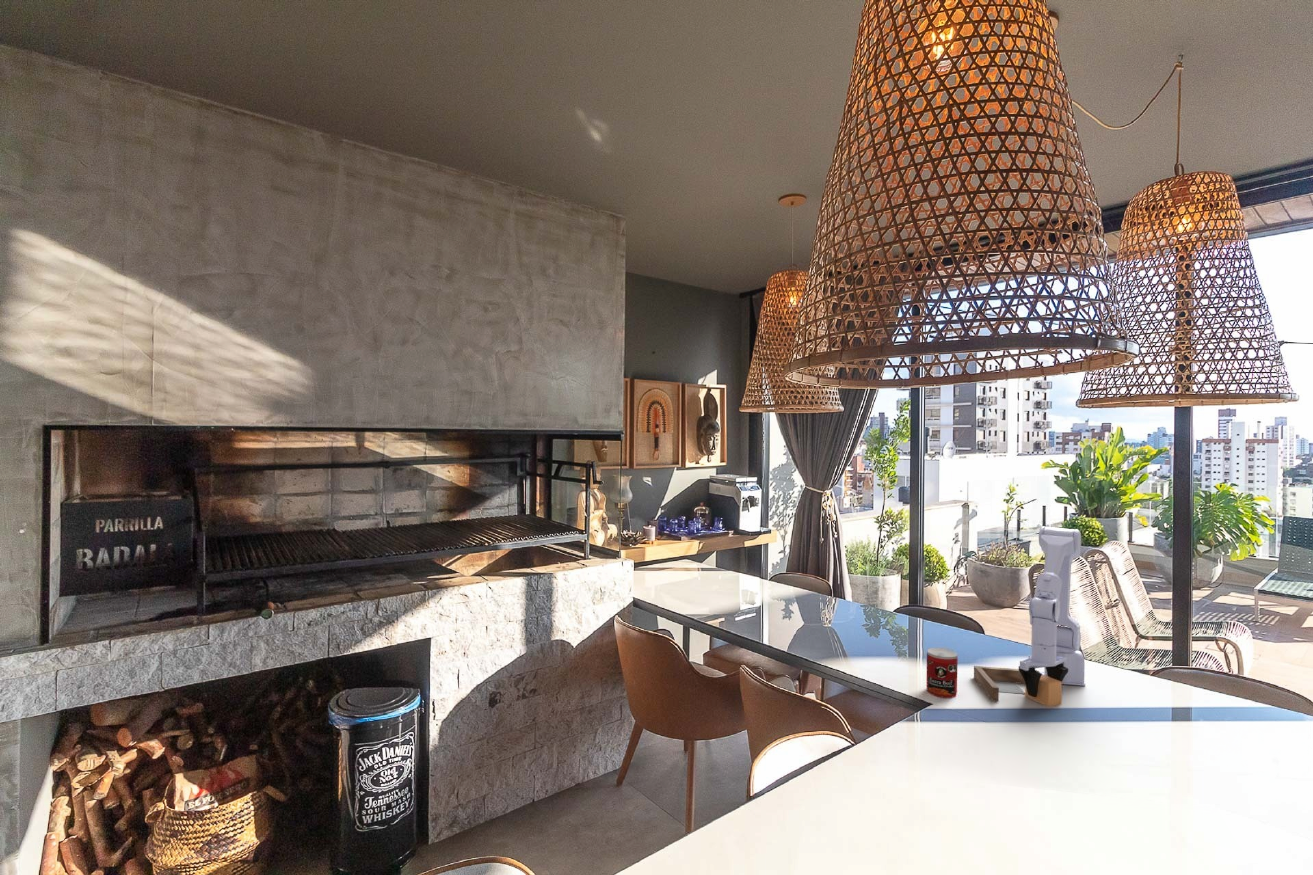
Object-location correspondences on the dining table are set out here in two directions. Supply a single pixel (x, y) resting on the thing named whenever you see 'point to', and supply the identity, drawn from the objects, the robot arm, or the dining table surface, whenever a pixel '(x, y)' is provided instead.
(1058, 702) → the block
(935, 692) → the canned food
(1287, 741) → the dining table surface
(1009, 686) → the pad
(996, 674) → the arena
